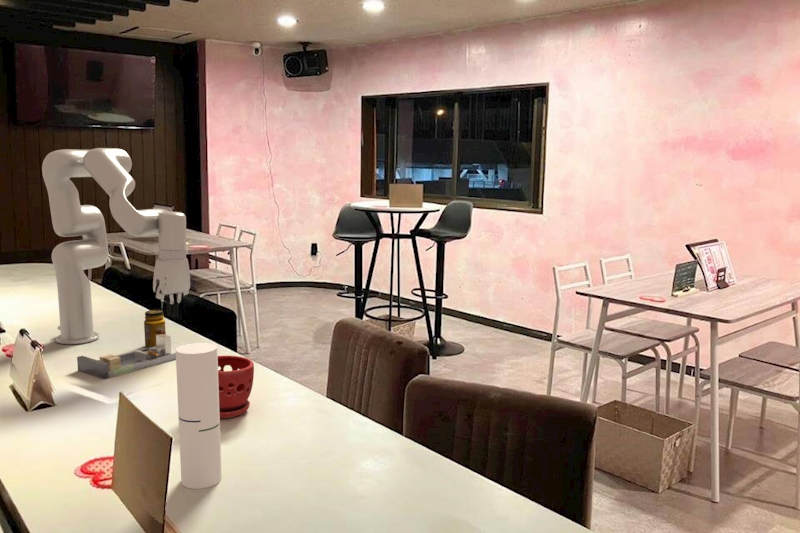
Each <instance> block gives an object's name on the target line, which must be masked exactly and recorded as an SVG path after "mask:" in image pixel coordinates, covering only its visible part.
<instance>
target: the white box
mask: <svg viewBox="0 0 800 533" xmlns="http://www.w3.org/2000/svg"><path fill="white" fill-rule="evenodd" d="M171 340H172V338H171V335H168V334H166V335H164V334H160V335H156V346H157V348H156V349H153V350H149V351H145V352H143V351H139V350H140V349H136V350H133V351H134V356H135V359H137V360H140V361H147V360H149V359H150V358H154V357H158V356H162V354H165V353H170V354H172V341H171Z"/></svg>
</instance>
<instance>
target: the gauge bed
mask: <svg viewBox="0 0 800 533" xmlns="http://www.w3.org/2000/svg"><path fill="white" fill-rule="evenodd" d="M153 349H157V348H156V346H152V347H148V348H146V347H145V348H144V347H143V348H140V349H138V350H139V351H143V352H145V351H149V350H153ZM134 351H135V350H133V351H129V352H125V353H120V354H117V355H115V356H118V357H120V359H121V368H117V369H113V370H110V371H109V368H108V363H105V362H101V361H100V359H94V358H91V357H87V356H84V355H81V356H80V355H79V356H77V357H76V360H77V361H76V362H77V372H80V373H84V374H87V375H89V376H93V377H96V378H99V379H102V380H106V379H111V378H113V377H117V376H120V375H121V376H122V375H124V374H127V373H130V372H135V371H138V370H141V369H145V368H146V369H147V368H149V367H152V366H156V365H160V364H163V363H166V362H167V363H168V362H170V361H171V362H172V361H174V360H175V361H176V352H173V353H171V354H170V353H165V354H162V356H158V357H154V358H150V359H149V360H147V361H140V360H137V359H135V356H134Z"/></svg>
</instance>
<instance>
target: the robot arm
mask: <svg viewBox="0 0 800 533" xmlns="http://www.w3.org/2000/svg"><path fill="white" fill-rule="evenodd" d="M132 166H133V162H132V158H131V156H130V155H129V154H128V153H127V151H125V150H124V149H121V148H115V147H113V148H112V147H96V148H92V149H76V148H75V149H70V148H66V149H65V148H64V149H57V150H54V151H51V152H49V153H48V154H46V156H45V158H44V159H43V161H42V166H41V171H42V172H41V173H42V178H43V182H44V184H45V187H46V190H47V195H48V201H49V208H50V215H51V223H52V228H53V230H54V233H55V234H56V235H57V236H59V237H61V238H62V237H63V238H67V237H69V238H71V237H79V236H81V237H82V239H78V240H77V239H76V240H68V241H63V242H61V243H58V244H57V245H56V246H55V247H54V248H53V250H52V252H51V261H52V266H53V269H54V273H55V278H56V279H55V280H56V287H57V298H58V299H57V301H58V312H59V314H58V315H59V325H58V326H57V330H58V331H60V334H58V335H57V336H56V337H55V342H56V343H58V344H62V345H81V344H87V343H90V342H95V341H97V340H99V338H100V334H99V333H98V332H96V331H94V317H93V303H92V302H93V301H92V287H91V282H90V279H89V277H88V276H87V275H86V273H85V270H90V269H95V268H100V267H103V266H104V265H105V264H106V263H107V262H108V259H109V243H108V237H107V236H108V235H107V229H106V223H105V218H104V215H103V213H102V212H101V210H100V209H99V208H98V207H97V206H95V205H91V204H83V205H82V204H81V202H80V197H79V196H80V194H79V191H78V189H77V187H76V186H75V184H74V182H73V181H72V180H71V178H93V180H95V182H97V184H98V185H99V186H100V187H101V188H102V189H103V191H105V193H106V194H107V195H108V196H109V208H110V214H111V216H112V218H113V219H114V221H115V222H116V223H117V224H118V225H119V226H120V227H121V228H122V229H123V230H124V231H125V233H127V234H129V235H130V236H132V237H139V238H140V237H145V236H155V235H158V259H156V260H155V265H154V268H153V269H154V270H153V277H152V278H153V280H152V290H153V293H155V298H156V299H158V300H163V301H164V303H165V304H166V315H167V316H168V317H170V318H176V317H179V311H180V310H179V308H180V307H179V306H180V303H181V302H182V298H183V297H185V296H187V295H188V294H189V293H190V291H189V290H190V288H191V273H190V272H191V271H190V264H189V260H188V258H187V254H189V249H188V248H187V216H186V214H185V213H183V212H181V211H168V210H167V209H163V208H148V209H147V208H146V209H136V208H135V207H134V206H133V205H132V204H131V202H130V201H129V200H128V199H127V198H128V197H129V196H130V195H131V194H132V192H133V191H134V189H135V188H136V181H135V179H134V178H133V177H132V176H131V174H129V173H130V171H131V170H132Z"/></svg>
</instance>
